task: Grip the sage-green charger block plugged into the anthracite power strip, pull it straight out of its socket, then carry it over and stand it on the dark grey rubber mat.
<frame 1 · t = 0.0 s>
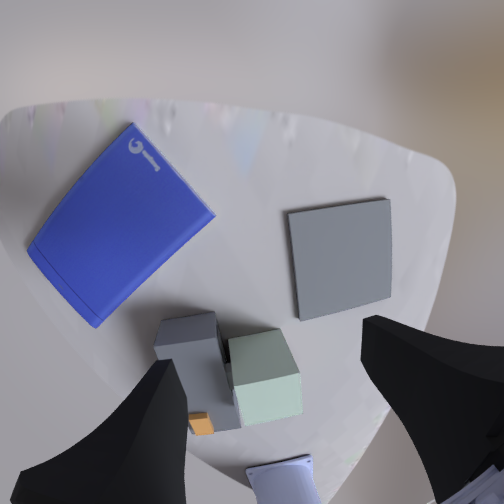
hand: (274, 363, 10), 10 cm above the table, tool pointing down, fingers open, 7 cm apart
power strip: (202, 364, 21), on the table
charger: (258, 354, 21), resting in power strip
blue book: (113, 229, 18), on the table
mat: (345, 259, 20), on the table
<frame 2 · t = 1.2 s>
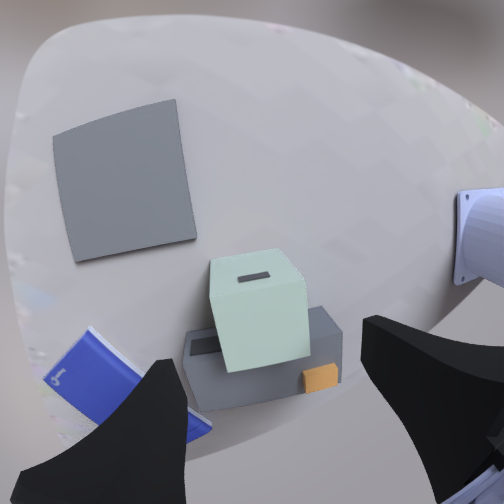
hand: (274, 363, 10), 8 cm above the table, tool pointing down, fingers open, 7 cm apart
power strip: (259, 345, 18), on the table
charger: (249, 284, 17), resting in power strip
blue book: (125, 396, 19), on the table
mat: (118, 182, 15), on the table
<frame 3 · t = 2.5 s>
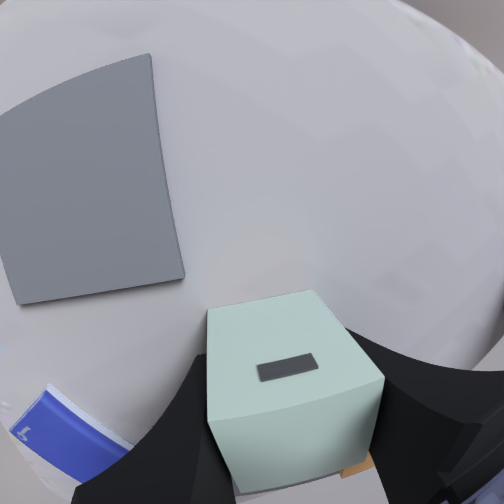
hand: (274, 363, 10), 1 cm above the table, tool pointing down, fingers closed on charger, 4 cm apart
power strip: (277, 413, 12), on the table
charger: (267, 342, 11), resting in power strip, touching gripper
blue book: (106, 455, 13), on the table
mat: (63, 188, 8), on the table
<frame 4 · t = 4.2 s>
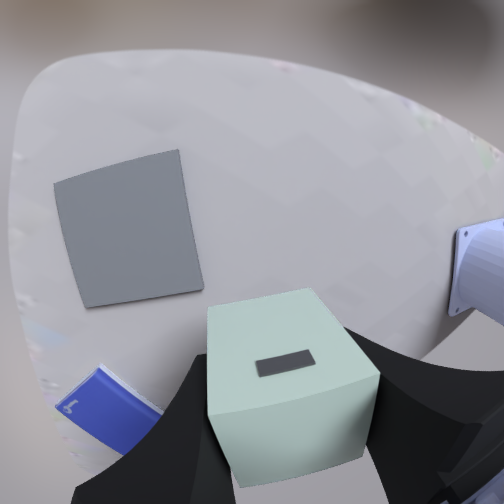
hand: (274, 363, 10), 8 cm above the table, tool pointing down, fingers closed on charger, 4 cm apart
charger: (266, 340, 11), point 6 cm above the table, touching gripper
blue book: (134, 422, 20), on the table
mat: (124, 233, 15), on the table
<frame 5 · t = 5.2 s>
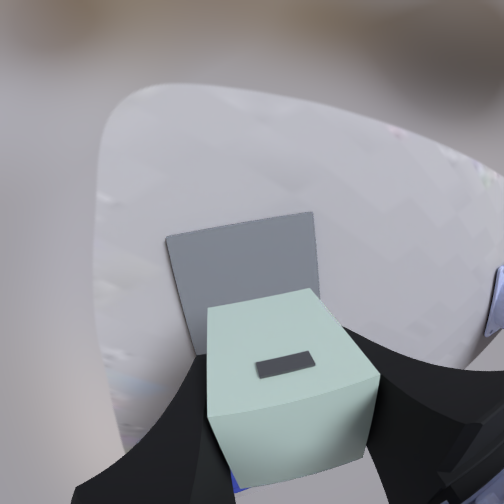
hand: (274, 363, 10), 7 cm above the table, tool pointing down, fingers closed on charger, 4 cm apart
charger: (266, 341, 11), point 5 cm above the table, touching gripper
mat: (250, 291, 16), on the table
when the fingers open (3 cm above the table, at t = 6.2 s): charger drops 1 cm, resting on mat.
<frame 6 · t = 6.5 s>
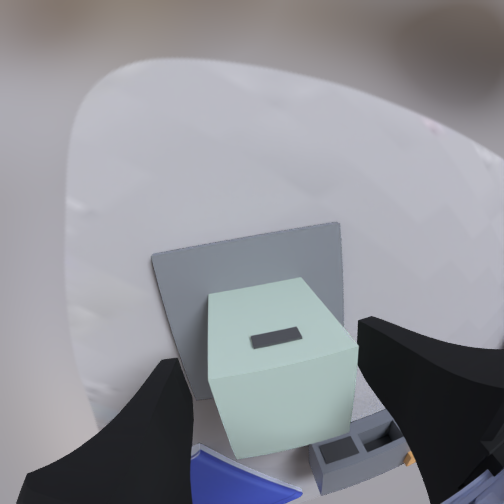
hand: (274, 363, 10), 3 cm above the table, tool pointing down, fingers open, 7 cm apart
power strip: (365, 431, 17), on the table
charger: (261, 326, 13), resting on mat
blue book: (219, 481, 18), on the table
mat: (259, 321, 13), on the table
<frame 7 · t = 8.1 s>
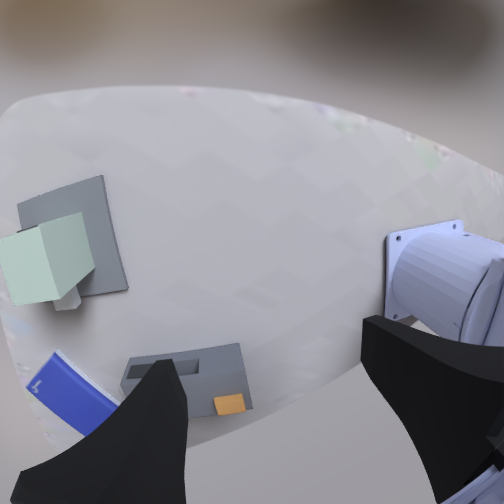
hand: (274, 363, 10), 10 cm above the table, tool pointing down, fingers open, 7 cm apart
power strip: (188, 371, 21), on the table
charger: (65, 245, 17), resting on mat
blue book: (89, 403, 22), on the table
mat: (67, 243, 17), on the table
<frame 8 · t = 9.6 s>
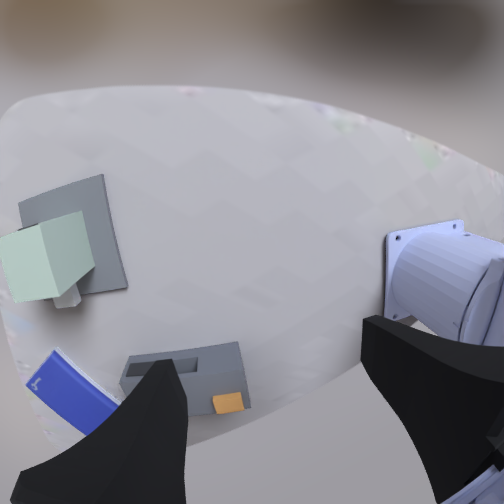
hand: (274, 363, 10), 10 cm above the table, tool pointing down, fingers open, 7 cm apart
power strip: (187, 369, 21), on the table
charger: (66, 243, 17), resting on mat
blue book: (88, 401, 22), on the table
mat: (68, 241, 17), on the table
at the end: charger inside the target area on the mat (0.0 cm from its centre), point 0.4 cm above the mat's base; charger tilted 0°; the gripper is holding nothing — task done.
